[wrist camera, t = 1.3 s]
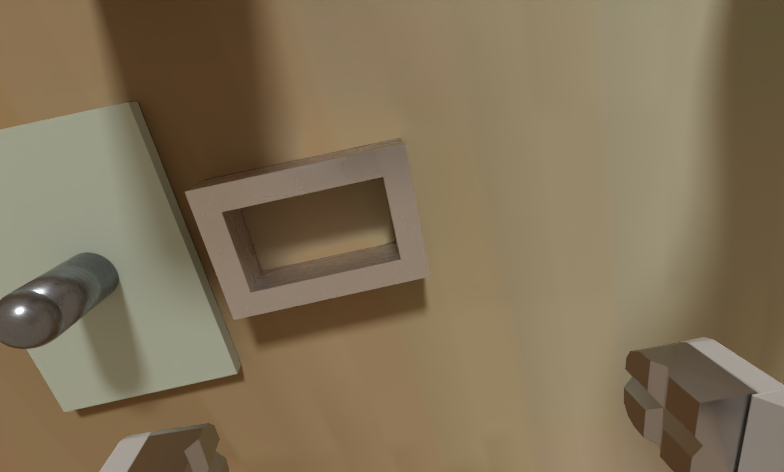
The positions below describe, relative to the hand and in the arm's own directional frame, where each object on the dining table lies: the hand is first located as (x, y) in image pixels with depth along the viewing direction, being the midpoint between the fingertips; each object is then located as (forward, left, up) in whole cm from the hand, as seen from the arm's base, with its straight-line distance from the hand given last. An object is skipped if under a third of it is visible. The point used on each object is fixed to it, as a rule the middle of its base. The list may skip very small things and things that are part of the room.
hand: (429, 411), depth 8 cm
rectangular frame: (+4, +1, -19) cm, 19 cm away
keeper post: (+18, +1, -18) cm, 26 cm away
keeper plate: (+18, +1, -19) cm, 26 cm away
